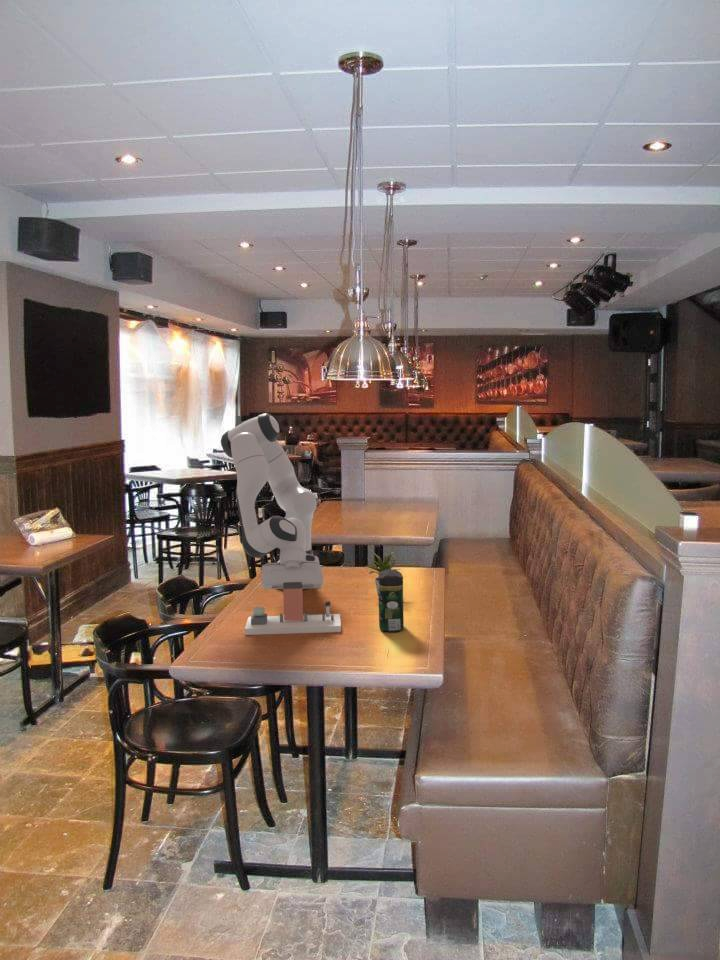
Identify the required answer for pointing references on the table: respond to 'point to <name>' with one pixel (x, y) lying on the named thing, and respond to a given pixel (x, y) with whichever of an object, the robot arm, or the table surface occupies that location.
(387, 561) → the house plant
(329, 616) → the toggle lever
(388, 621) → the coffee jar
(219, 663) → the table surface
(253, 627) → the control panel
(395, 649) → the table surface
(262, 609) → the push button
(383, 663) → the table surface
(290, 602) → the paddle
